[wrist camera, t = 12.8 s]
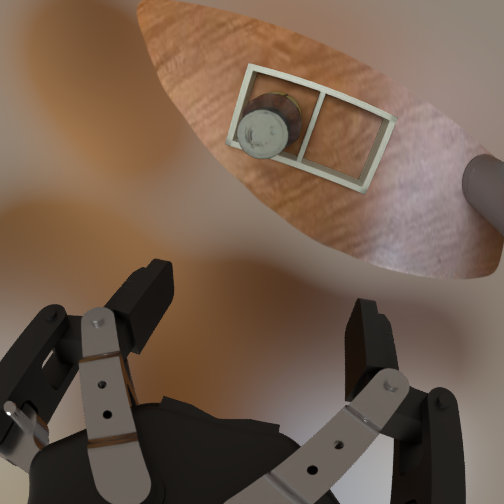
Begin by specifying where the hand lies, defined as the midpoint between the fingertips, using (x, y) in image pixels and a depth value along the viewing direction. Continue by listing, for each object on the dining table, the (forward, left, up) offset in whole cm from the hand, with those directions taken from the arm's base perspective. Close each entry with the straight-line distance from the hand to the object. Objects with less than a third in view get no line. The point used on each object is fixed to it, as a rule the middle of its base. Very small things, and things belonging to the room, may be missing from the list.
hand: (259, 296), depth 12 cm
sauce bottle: (+3, -5, -33) cm, 33 cm away
